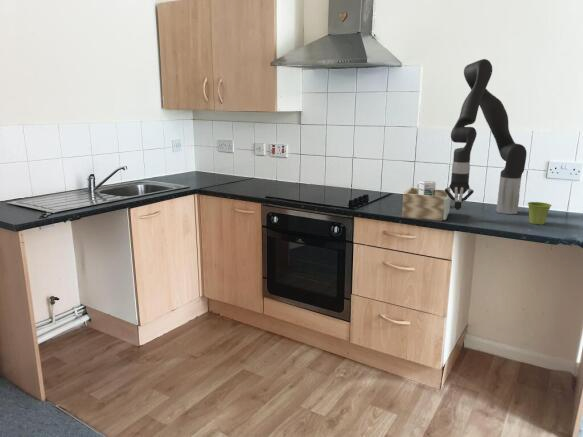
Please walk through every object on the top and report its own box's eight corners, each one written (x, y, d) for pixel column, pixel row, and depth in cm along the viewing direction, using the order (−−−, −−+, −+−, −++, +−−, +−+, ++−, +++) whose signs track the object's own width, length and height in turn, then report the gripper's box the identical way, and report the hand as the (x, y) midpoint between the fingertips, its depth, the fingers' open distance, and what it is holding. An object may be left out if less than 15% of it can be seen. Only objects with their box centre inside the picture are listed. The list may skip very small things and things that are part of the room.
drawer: (449, 211, 229) (450, 192, 226) (445, 219, 212) (447, 199, 210) (410, 208, 235) (412, 189, 233) (404, 215, 219) (406, 196, 217)
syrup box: (422, 213, 221) (424, 182, 217) (417, 210, 226) (419, 180, 223) (433, 213, 222) (436, 182, 218) (428, 210, 227) (430, 180, 224)
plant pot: (553, 224, 210) (556, 205, 208) (540, 226, 205) (543, 207, 203) (533, 219, 217) (536, 201, 215) (520, 222, 213) (523, 203, 211)
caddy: (446, 213, 229) (448, 190, 227) (442, 221, 213) (444, 197, 210) (408, 209, 236) (409, 187, 233) (401, 217, 220) (403, 193, 217)
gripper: (476, 171, 215) (473, 209, 219) (445, 170, 220) (443, 206, 224) (476, 173, 208) (472, 212, 212) (444, 172, 213) (441, 210, 217)
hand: (457, 209), depth 218 cm, fingers closed
